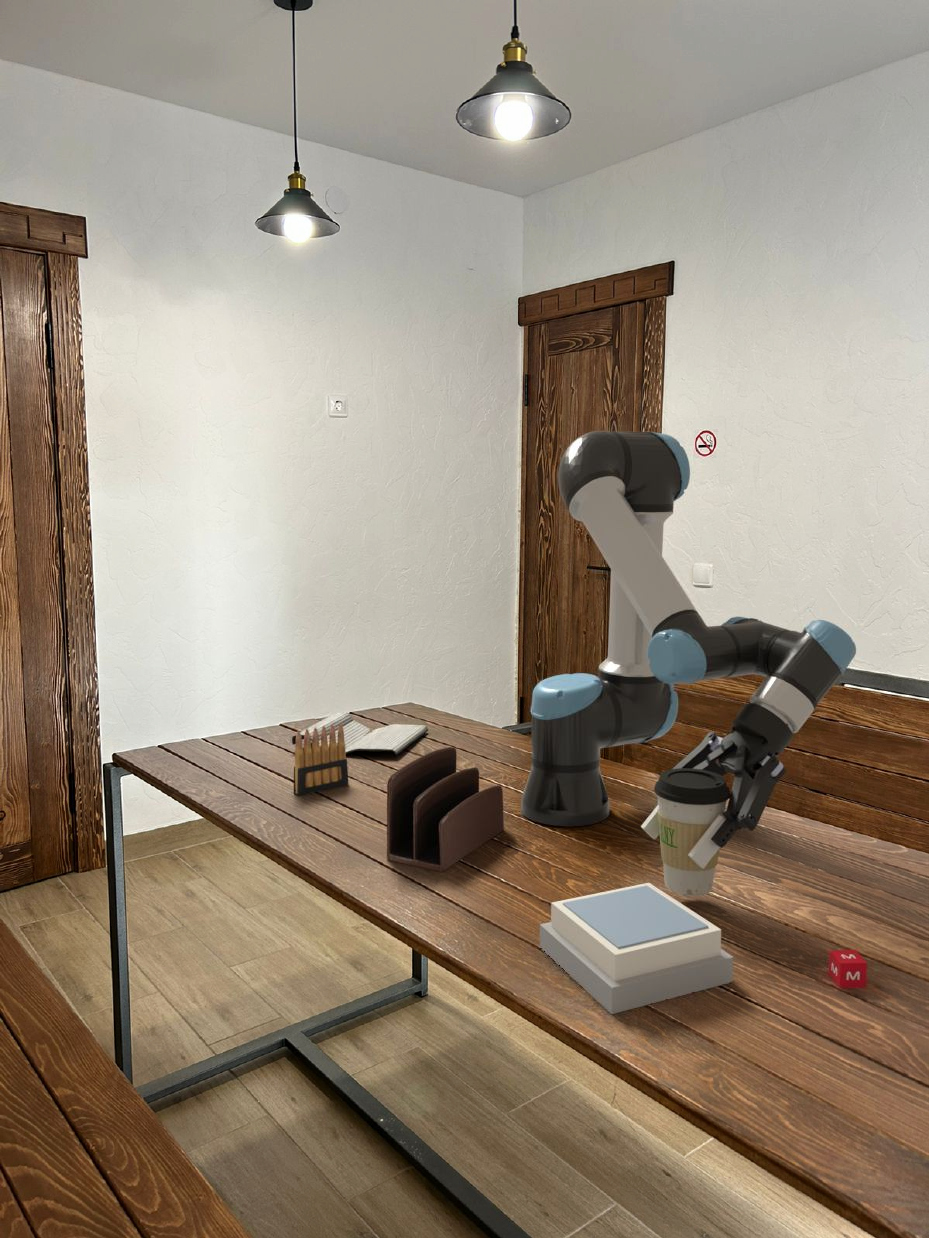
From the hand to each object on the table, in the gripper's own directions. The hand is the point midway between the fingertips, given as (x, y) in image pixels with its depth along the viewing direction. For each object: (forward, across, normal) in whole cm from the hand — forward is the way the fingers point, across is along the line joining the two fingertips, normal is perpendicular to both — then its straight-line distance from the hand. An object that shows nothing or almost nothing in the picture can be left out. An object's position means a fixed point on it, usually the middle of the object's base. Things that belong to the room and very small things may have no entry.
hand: (670, 846), depth 123 cm
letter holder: (+19, +33, +6) cm, 39 cm away
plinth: (+15, -11, +3) cm, 19 cm away
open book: (+16, +96, +1) cm, 97 cm away
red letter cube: (+1, -24, -11) cm, 26 cm away
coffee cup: (+2, 0, -6) cm, 7 cm away
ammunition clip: (+27, +68, +14) cm, 75 cm away
